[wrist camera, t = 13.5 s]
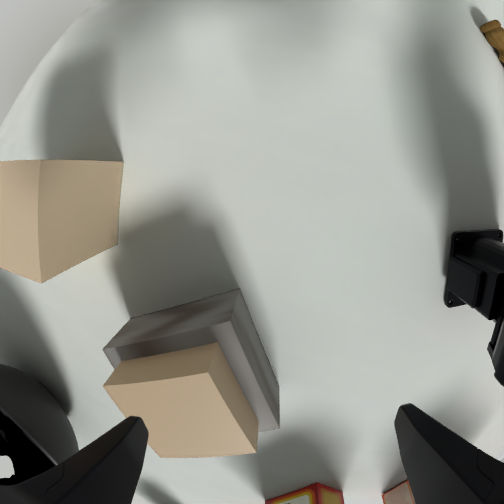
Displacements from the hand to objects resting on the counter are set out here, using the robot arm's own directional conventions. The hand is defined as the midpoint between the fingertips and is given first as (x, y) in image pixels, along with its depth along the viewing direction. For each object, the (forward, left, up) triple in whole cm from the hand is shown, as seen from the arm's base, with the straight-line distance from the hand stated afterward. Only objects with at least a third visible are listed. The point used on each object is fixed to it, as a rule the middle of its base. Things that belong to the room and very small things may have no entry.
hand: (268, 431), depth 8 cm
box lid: (+6, +6, -8) cm, 12 cm away
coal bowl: (+32, +16, -13) cm, 38 cm away
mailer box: (+14, -8, -13) cm, 21 cm away
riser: (+6, +6, -13) cm, 16 cm away
